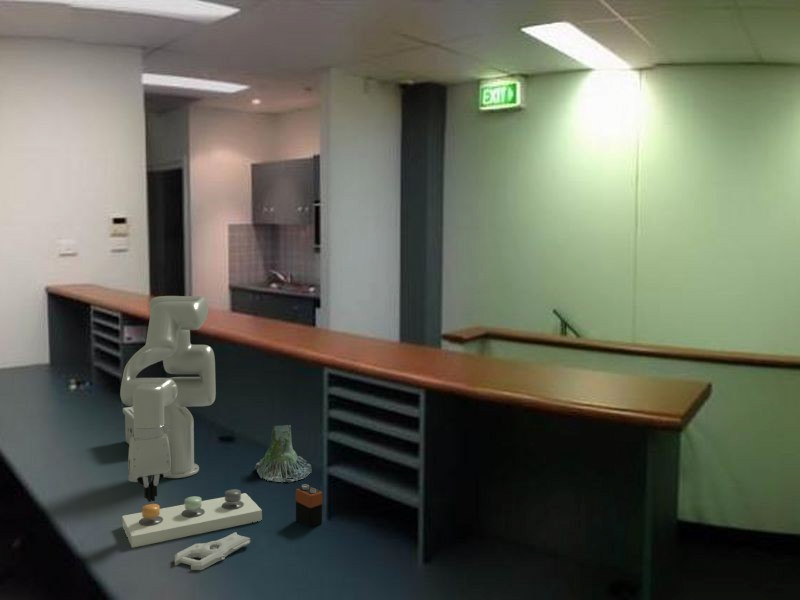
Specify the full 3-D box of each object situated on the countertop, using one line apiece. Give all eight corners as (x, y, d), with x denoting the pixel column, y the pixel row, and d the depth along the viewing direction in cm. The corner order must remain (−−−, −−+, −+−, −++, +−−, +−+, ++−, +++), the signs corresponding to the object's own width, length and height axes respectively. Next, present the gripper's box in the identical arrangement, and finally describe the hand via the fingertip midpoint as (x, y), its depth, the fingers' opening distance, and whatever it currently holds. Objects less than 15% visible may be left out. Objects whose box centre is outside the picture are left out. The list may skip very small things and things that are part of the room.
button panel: (122, 526, 185) (122, 515, 185) (245, 502, 202) (245, 492, 202) (132, 547, 173) (131, 535, 173) (261, 520, 190) (261, 509, 190)
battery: (307, 516, 194) (307, 481, 193) (322, 523, 189) (323, 488, 188) (294, 520, 191) (295, 485, 190) (310, 528, 186) (310, 492, 185)
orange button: (140, 513, 182) (140, 505, 182) (157, 509, 185) (157, 502, 184) (143, 519, 179) (143, 511, 178) (161, 515, 181) (161, 508, 181)
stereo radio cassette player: (161, 453, 245) (160, 398, 243) (137, 457, 240) (135, 401, 238) (145, 438, 262) (144, 386, 260) (122, 441, 257) (121, 389, 255)
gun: (226, 524, 180) (253, 534, 174) (227, 536, 180) (253, 547, 175) (167, 553, 165) (194, 566, 160) (168, 567, 166) (195, 580, 160)
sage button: (182, 505, 188) (182, 498, 188) (199, 502, 190) (199, 495, 190) (186, 511, 184) (186, 503, 184) (203, 507, 186) (203, 500, 186)
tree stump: (257, 487, 216) (253, 429, 218) (254, 480, 235) (250, 427, 237) (315, 479, 221) (311, 423, 223) (308, 473, 240) (304, 421, 242)
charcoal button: (222, 497, 194) (222, 491, 193) (238, 495, 196) (238, 488, 196) (227, 503, 190) (227, 496, 190) (242, 500, 192) (242, 493, 192)
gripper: (175, 424, 186) (176, 490, 188) (116, 431, 179) (117, 500, 180) (182, 431, 180) (182, 499, 182) (121, 439, 172) (122, 510, 174)
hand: (150, 499), depth 181 cm, fingers closed
